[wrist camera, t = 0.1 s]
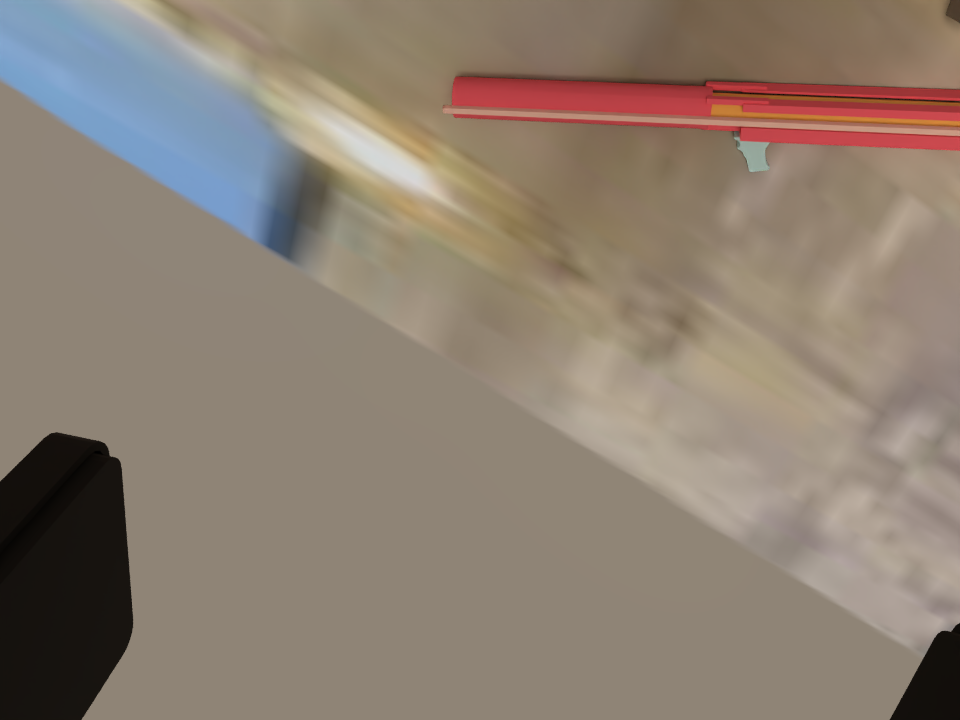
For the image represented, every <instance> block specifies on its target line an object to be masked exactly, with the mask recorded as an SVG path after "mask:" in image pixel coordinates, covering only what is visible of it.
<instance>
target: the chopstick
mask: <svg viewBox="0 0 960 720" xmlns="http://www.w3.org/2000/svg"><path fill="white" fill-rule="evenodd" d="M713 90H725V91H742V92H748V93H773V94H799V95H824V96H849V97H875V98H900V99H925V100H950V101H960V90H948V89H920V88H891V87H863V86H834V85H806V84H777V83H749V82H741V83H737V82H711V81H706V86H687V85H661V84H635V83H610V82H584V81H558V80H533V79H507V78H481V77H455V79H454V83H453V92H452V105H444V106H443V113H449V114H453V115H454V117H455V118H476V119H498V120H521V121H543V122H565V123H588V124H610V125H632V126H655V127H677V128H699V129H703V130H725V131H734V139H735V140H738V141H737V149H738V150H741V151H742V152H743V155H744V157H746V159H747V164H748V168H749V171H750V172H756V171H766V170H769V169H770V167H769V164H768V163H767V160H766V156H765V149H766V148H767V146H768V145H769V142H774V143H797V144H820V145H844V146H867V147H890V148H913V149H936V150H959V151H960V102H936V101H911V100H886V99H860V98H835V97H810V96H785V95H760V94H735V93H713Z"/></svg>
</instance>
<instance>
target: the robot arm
mask: <svg viewBox="0 0 960 720" xmlns="http://www.w3.org/2000/svg"><path fill="white" fill-rule="evenodd" d="M122 481H123V480H122V468H121V463H120V461H119V459H117V458H115V457H111V456H110V455H109V450H108V448H107V446H106V444H105V443H103V442H100V441H96V440H91V439H86V438H81V437H77V436H72V435H67V434H62V433H57V432H56V433H51V434H49V435H48V436H47V437H45V438H44V439H43V440H42V441H41V442H40V443H39V444H38V445H37V446H36V447H35V448H34V449H33V450H32V451H31V452H30V453H29V454H28V455H27V456H26V457H25V458H24V459H23V460H22V461H21V462H20V463H19V464H17V466H15V468H13V469H12V471H10V473H8V474H7V476H5V478H3V479H2V480H1V481H0V720H82V718H83V717H84V715H85V713H86V712H87V710H88V709H89V707H90V706H91V704H92V702H93V701H94V699H95V698H96V696H97V694H98V693H99V692H100V690H101V688H102V687H103V685H104V683H105V682H106V681H107V679H108V677H109V676H110V674H111V673H112V671H113V670H114V668H115V666H116V665H117V663H118V662H119V660H120V659H121V657H122V655H123V654H124V652H125V650H126V648H127V646H128V643H129V640H130V637H131V634H132V628H133V612H132V599H131V586H130V573H129V559H128V547H127V533H126V520H125V506H124V493H123V482H122ZM890 720H960V623H959V624H957V625H956V626H955V628H954V629H953V630H952V632H949V631H941V632H940V633H938V634H937V636H936V637H935V638H934V640H933V642H932V644H931V645H930V647H929V649H928V651H927V653H926V655H925V656H924V658H923V660H922V662H921V664H920V666H919V667H918V669H917V671H916V673H915V675H914V677H913V678H912V680H911V682H910V684H909V686H908V688H907V689H906V691H905V693H904V695H903V697H902V698H901V700H900V702H899V704H898V706H897V708H896V710H895V711H894V713H893V715H892V717H891V719H890Z"/></svg>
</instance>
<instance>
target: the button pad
mask: <svg viewBox="0 0 960 720" xmlns="http://www.w3.org/2000/svg"><path fill="white" fill-rule="evenodd" d="M946 15H947V16H948V17H950V18H952V19H954V20H956V21H958V22H959V23H960V0H951V2H950V5H949V8H948V10H947V13H946Z"/></svg>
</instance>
